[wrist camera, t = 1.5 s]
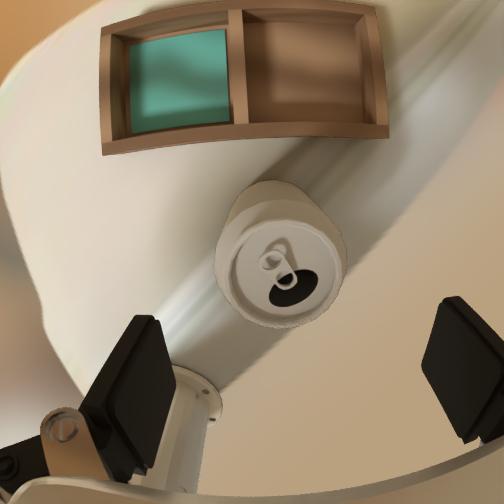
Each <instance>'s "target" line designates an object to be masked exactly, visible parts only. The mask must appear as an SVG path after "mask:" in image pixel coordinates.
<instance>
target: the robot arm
mask: <svg viewBox="0 0 504 504" xmlns="http://www.w3.org/2000/svg"><path fill="white" fill-rule="evenodd" d="M421 367H422V371H423V373H424V375H425V377H426V378H427V380H428V382H429V384H430V385H431V387H432V389H433V391H434V392H435V394H436V396H437V398H438V400H439V402H440V403H441V405H442V407H443V409H444V411H445V413H446V414H447V417H448V419H449V421H450V422H451V424H452V426H453V428H454V430H455V432H456V434H457V436H458V437H459V438H462V440H463V442H464V444H466V443H469V442H471V441H474V440H476V439H477V438H478V436H479V437H480V439H481V441H480V445H479V448H477V449H474V450H472V451H470V452H468V453H465V454H463V455H461V456H458V457H456V458H453V459H451V460H448V461H445V462H443V463H440V464H437V465H434V466H432V467H429V468H426V469H423V470H420V471H417V472H413V473H410V474H407V475H403V476H400V477H396V478H392V479H388V480H385V481H380V482H376V483H372V484H367V485H363V486H358V487H352V488H346V489H340V490H334V491H327V492H319V493H310V494H300V495H287V496H264V497H263V496H262V497H240V496H237V497H236V496H216V495H203V494H197V489H198V482H199V475H200V468H201V462H202V456H203V449H204V443H205V436H206V430H207V429H208V428H210V427H212V426H213V425H214V424H216V423H217V422H218V420H219V419H220V417H221V414H222V407H223V404H222V399H221V397H220V394H219V392H218V391H217V390H216V388H215V387H214V386H213V385H212V384H211V383H210V382H208V381H207V380H206V379H205V378H203V377H201V376H200V375H198V374H196V373H194V372H192V371H190V370H188V369H185V368H182V367H179V366H174V365H171V361H170V358H169V354H168V351H167V347H166V343H165V340H164V336H163V332H162V328H161V324H160V321H159V320H155V318H154V316H152V315H135V316H134V317H133V319H132V320H131V322H130V323H129V325H128V327H127V328H126V330H125V331H124V333H123V335H122V336H121V338H120V339H119V341H118V343H117V344H116V346H115V347H114V349H113V351H112V352H111V354H110V356H109V357H108V359H107V361H106V362H105V364H104V366H103V367H102V369H101V371H100V372H99V374H98V376H97V377H96V379H95V381H94V382H93V384H92V386H91V388H90V389H89V391H88V393H87V395H86V396H85V398H84V400H83V402H82V404H81V405H80V407H79V409H78V410H77V409H74V408H71V407H63V408H58V409H56V410H53V411H51V412H50V413H49V414H48V415H46V417H45V418H44V419H43V421H42V423H41V426H40V435H37V436H35V437H32V438H30V439H27V440H24V441H21V442H19V443H16V444H13V445H11V446H7V447H5V448H2V449H0V504H504V341H503V340H502V339H501V338H500V337H499V336H498V334H497V333H496V332H495V331H494V330H493V329H492V328H491V327H490V326H489V325H488V324H487V323H486V322H485V321H484V320H483V319H482V318H481V317H480V316H479V315H478V314H477V313H476V312H475V311H474V310H473V309H472V308H471V307H470V306H469V305H468V304H467V303H466V302H465V301H464V300H463V299H462V298H461V297H459V296H453V297H447V298H444V299H443V301H442V303H440V304H439V306H438V310H437V314H436V317H435V321H434V324H433V328H432V331H431V335H430V338H429V341H428V344H427V348H426V351H425V354H424V357H423V360H422V364H421Z"/></svg>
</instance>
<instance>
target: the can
mask: <svg viewBox="0 0 504 504" xmlns="http://www.w3.org/2000/svg"><path fill="white" fill-rule="evenodd" d="M214 270H215V275H216V280H217V285H218V286H219V288H220V290H221V291H222V293H223V295H224V296H225V298H226V300H227V301H228V302H229V303H230V304H231V305H232V306H233V307H234V309H236V310H237V311H238V312H239V313H240V314H241V315H242V316H244V317H245V318H246V319H247V320H249V321H252V322H254V323H256V324H258V325H261V326H263V327H270V328H277V329H284V328H292V327H298V326H301V325H303V324H306V323H308V322H310V321H313V320H315V319H316V318H317V317H318V316H319V315H321V314H322V313H323V312H325V311H326V310H327V309H328V308H329V307H330V305H331V304H332V303H333V301H334V300H335V298H336V297H337V295H338V293H339V290H340V287H341V286H342V283H343V279H344V276H345V273H346V270H347V248H346V246H345V243H344V240H343V238H342V235H341V233H340V230H339V229H338V228H337V226H336V225H335V224H334V223H333V222H332V221H331V219H330V218H329V217H328V216H327V215H326V214H325V213H324V212H323V211H322V210H321V209H320V208H319V207H318V206H317V205H316V204H315V203H314V202H313V201H312V200H311V199H310V198H309V197H308V196H307V195H306V194H305V193H304V192H303V191H302V190H301V189H299V188H298V187H296V186H294V185H292V184H290V183H289V182H284V181H278V180H269V181H261V182H258V183H256V184H254V185H252V186H250V187H248V188H247V189H246V190H245V191H244V192H243V193H241V194H240V195H239V196H238V197H237V199H236V201H235V203H234V205H233V207H232V209H231V211H230V213H229V216H228V218H227V220H226V223H225V225H224V228H223V230H222V233H221V235H220V238H219V240H218V243H217V245H216V251H215V258H214Z"/></svg>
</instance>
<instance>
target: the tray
mask: <svg viewBox="0 0 504 504" xmlns="http://www.w3.org/2000/svg"><path fill="white" fill-rule="evenodd" d="M99 106H100V129H101V143H102V155H103V156H106V155H115V154H124V153H130V152H136V151H142V150H148V149H155V148H162V147H169V146H177V145H185V144H194V143H204V142H214V141H226V140H240V139H257V138H283V137H340V138H366V139H380V138H389V121H388V104H387V92H386V81H385V71H384V63H383V55H382V48H381V41H380V35H379V29H378V24H377V18H376V13H375V8H374V7H372V6H366V5H360V4H353V3H346V2H338V1H328V0H226V1H217V2H208V3H200V4H194V5H188V6H182V7H176V8H171V9H166V10H162V11H157V12H153V13H149V14H145V15H141V16H137V17H133V18H130V19H127V20H123V21H120V22H117V23H114V24H111V25H108V26H105V27H102V28H101V38H100V59H99Z"/></svg>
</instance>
